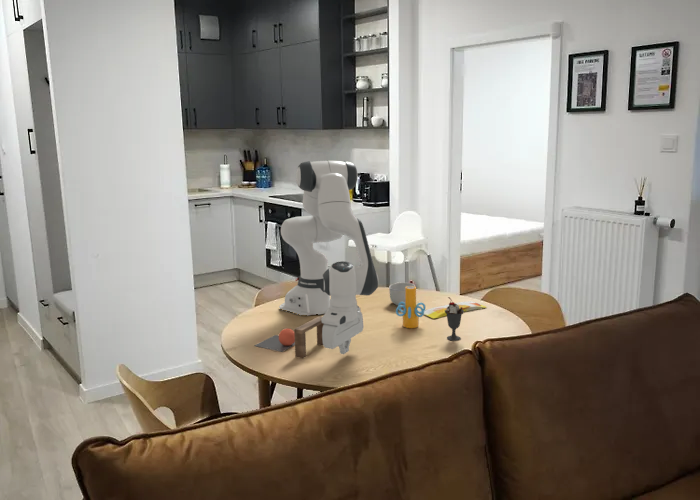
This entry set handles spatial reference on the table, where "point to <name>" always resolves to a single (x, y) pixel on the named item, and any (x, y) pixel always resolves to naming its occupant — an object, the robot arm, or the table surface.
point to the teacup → (398, 292)
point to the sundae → (453, 319)
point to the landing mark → (273, 344)
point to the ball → (287, 337)
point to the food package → (440, 310)
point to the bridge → (301, 337)
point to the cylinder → (410, 308)
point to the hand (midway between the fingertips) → (344, 352)
